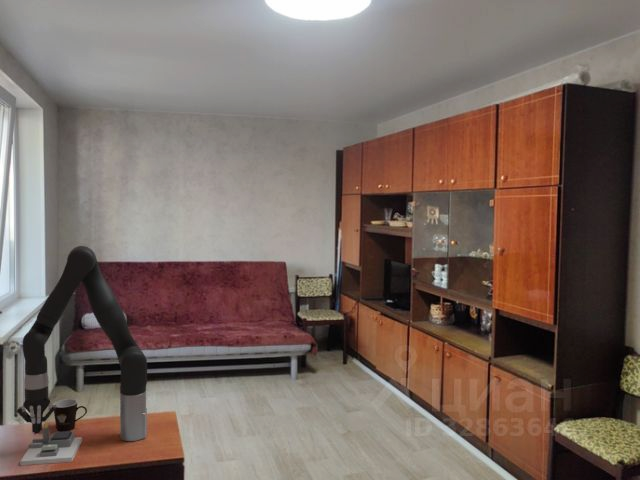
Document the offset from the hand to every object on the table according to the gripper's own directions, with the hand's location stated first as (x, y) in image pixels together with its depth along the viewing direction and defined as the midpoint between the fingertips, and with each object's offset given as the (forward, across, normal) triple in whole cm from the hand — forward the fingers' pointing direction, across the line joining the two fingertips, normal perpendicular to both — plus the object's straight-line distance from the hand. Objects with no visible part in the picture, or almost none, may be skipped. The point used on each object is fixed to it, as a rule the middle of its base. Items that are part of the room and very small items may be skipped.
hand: (37, 432), depth 196 cm
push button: (+4, +8, 0) cm, 9 cm away
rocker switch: (+3, +6, -8) cm, 10 cm away
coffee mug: (+6, +7, +16) cm, 18 cm away
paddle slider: (+4, +3, 0) cm, 5 cm away
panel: (+6, +6, -4) cm, 9 cm away
